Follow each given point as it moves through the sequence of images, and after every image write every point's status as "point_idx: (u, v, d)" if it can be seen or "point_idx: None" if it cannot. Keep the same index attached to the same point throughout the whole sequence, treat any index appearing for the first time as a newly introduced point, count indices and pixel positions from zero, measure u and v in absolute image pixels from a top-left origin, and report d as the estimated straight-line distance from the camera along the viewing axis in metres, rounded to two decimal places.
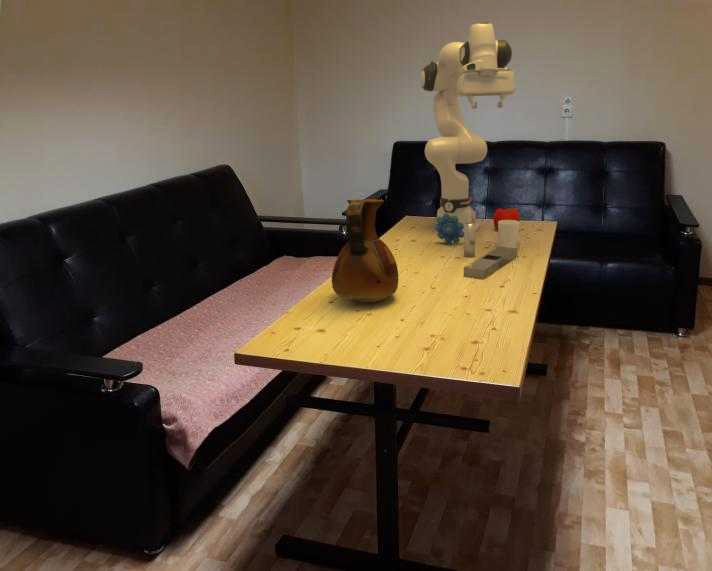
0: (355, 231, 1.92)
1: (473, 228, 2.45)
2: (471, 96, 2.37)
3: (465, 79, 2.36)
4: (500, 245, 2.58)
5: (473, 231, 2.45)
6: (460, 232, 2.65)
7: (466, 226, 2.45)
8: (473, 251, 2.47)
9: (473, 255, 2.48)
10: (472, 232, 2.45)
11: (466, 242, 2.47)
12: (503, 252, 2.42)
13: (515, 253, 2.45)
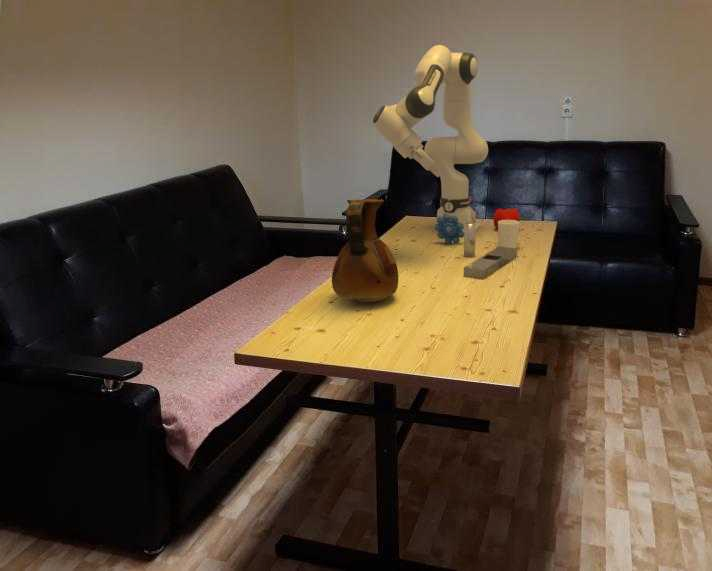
0: (355, 231, 1.92)
1: (473, 228, 2.45)
2: None
3: (413, 156, 2.47)
4: (500, 245, 2.58)
5: (473, 231, 2.45)
6: (460, 232, 2.65)
7: (466, 226, 2.45)
8: (473, 251, 2.47)
9: (473, 255, 2.48)
10: (472, 232, 2.45)
11: (466, 242, 2.47)
12: (503, 252, 2.42)
13: (515, 253, 2.45)
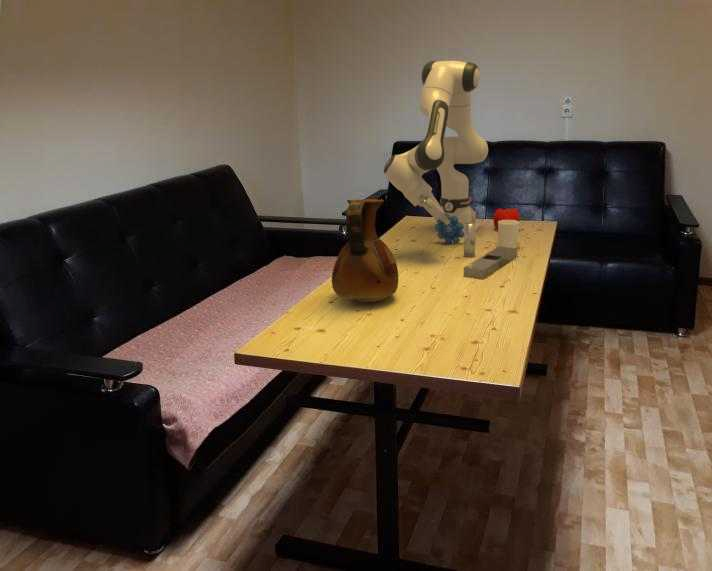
0: (355, 231, 1.92)
1: (473, 228, 2.45)
2: None
3: None
4: (500, 245, 2.58)
5: (473, 231, 2.45)
6: (460, 232, 2.65)
7: (466, 226, 2.45)
8: (473, 251, 2.47)
9: (473, 255, 2.48)
10: (472, 232, 2.45)
11: (466, 242, 2.47)
12: (503, 252, 2.42)
13: (515, 253, 2.45)
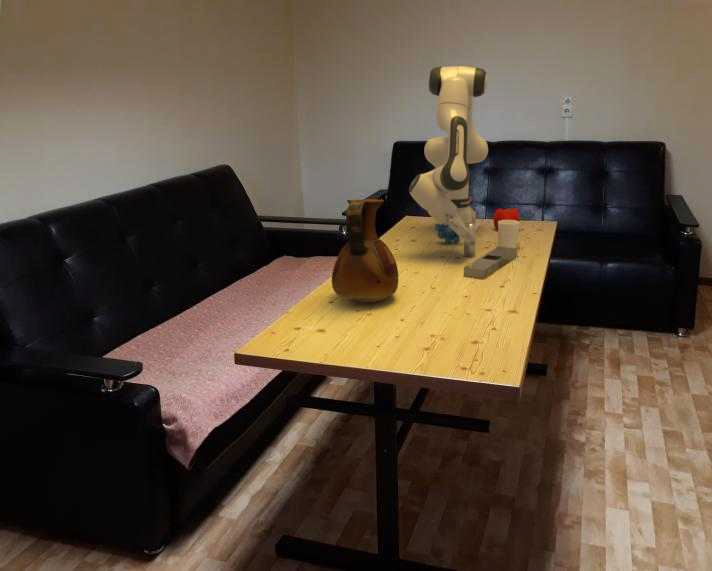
0: (355, 231, 1.92)
1: (473, 228, 2.45)
2: None
3: None
4: (500, 245, 2.58)
5: (473, 231, 2.45)
6: None
7: (466, 226, 2.45)
8: (473, 251, 2.47)
9: (473, 255, 2.48)
10: (472, 232, 2.45)
11: (466, 242, 2.47)
12: (503, 252, 2.42)
13: (515, 253, 2.45)
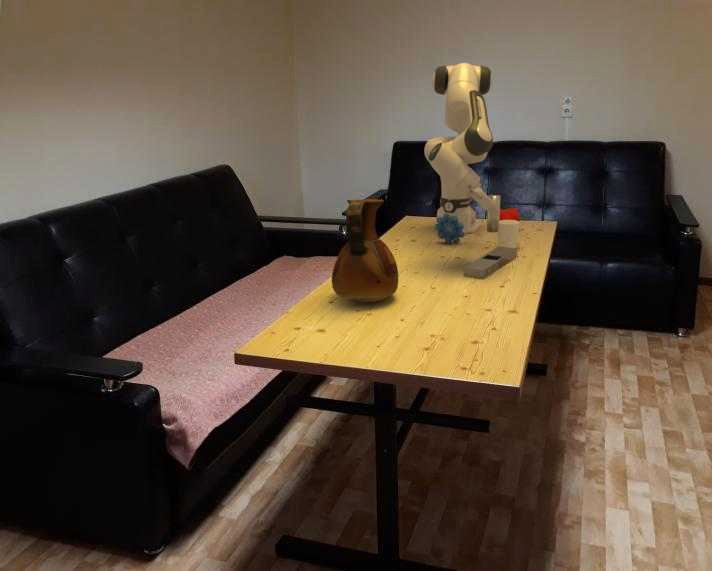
0: (355, 231, 1.92)
1: (497, 201, 2.28)
2: None
3: None
4: (500, 245, 2.58)
5: (497, 204, 2.28)
6: (460, 232, 2.65)
7: (490, 198, 2.28)
8: (497, 226, 2.30)
9: (497, 230, 2.31)
10: (496, 205, 2.28)
11: (490, 216, 2.30)
12: (503, 252, 2.42)
13: (515, 253, 2.45)
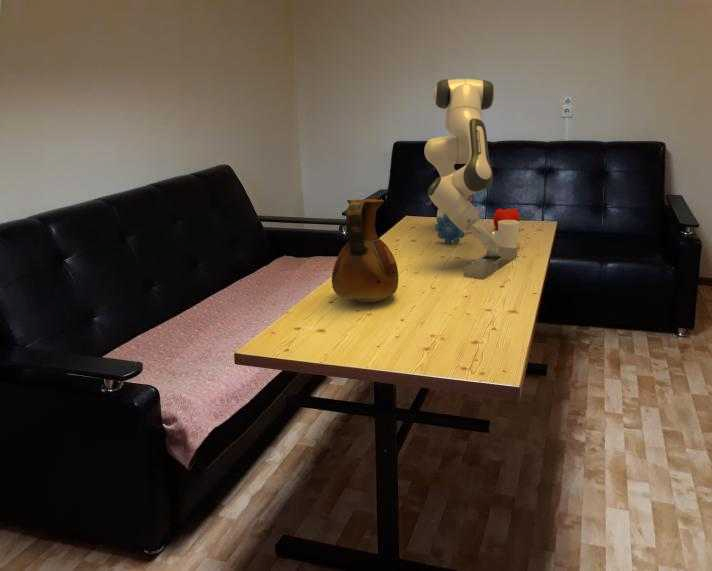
0: (355, 231, 1.92)
1: (496, 237, 2.31)
2: None
3: None
4: (500, 245, 2.58)
5: (496, 240, 2.32)
6: (460, 232, 2.65)
7: None
8: None
9: None
10: (495, 241, 2.32)
11: (488, 251, 2.33)
12: (503, 252, 2.42)
13: (515, 253, 2.45)
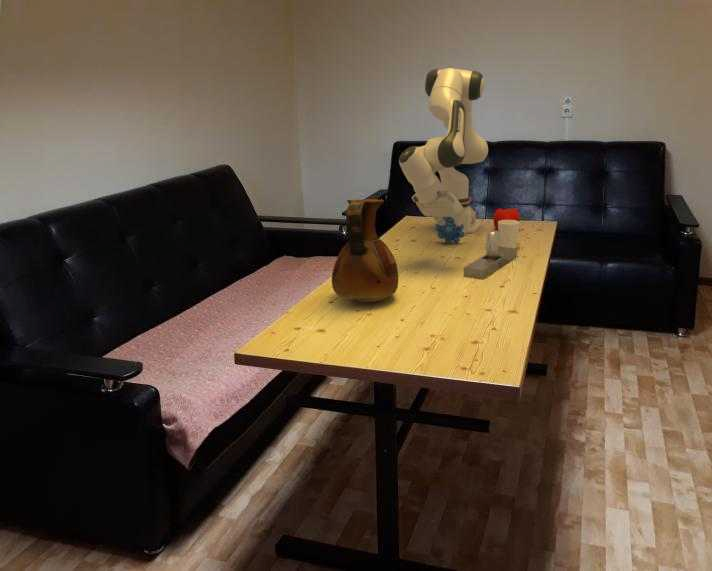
0: (355, 231, 1.92)
1: (496, 237, 2.31)
2: (434, 217, 2.39)
3: (420, 206, 2.38)
4: (500, 245, 2.58)
5: (496, 240, 2.32)
6: (460, 232, 2.65)
7: (488, 234, 2.32)
8: None
9: None
10: (495, 241, 2.32)
11: (488, 251, 2.33)
12: (503, 252, 2.42)
13: (515, 253, 2.45)
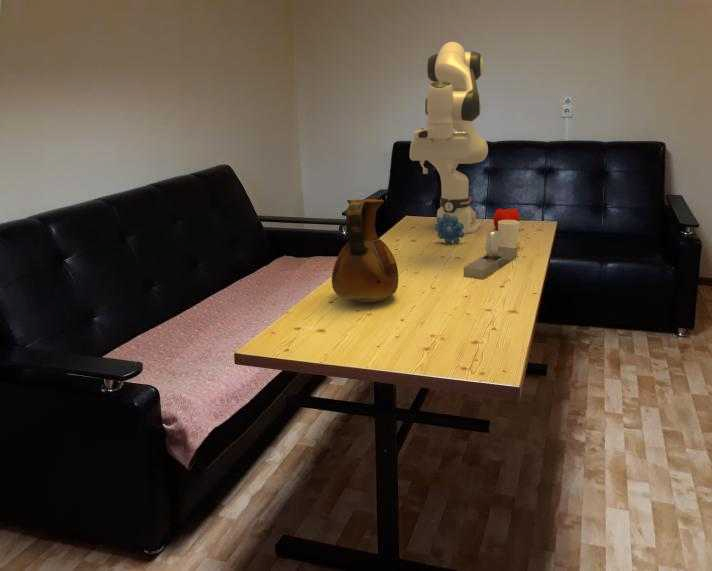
0: (355, 231, 1.92)
1: (496, 236, 2.32)
2: (422, 162, 2.32)
3: (416, 146, 2.30)
4: (500, 245, 2.58)
5: (496, 240, 2.32)
6: (460, 232, 2.65)
7: (488, 234, 2.32)
8: None
9: None
10: (495, 241, 2.32)
11: (488, 251, 2.33)
12: (503, 252, 2.42)
13: (515, 253, 2.45)
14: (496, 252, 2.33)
